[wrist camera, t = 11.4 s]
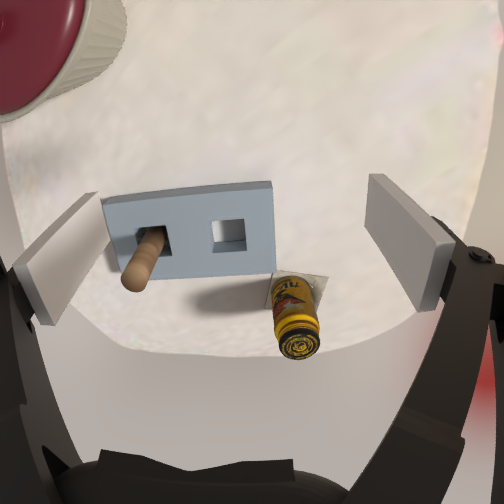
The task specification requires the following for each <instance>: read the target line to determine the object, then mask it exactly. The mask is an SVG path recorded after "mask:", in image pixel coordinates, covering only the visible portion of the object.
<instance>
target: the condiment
mask: <svg viewBox="0 0 504 504" xmlns="http://www.w3.org/2000/svg"><path fill="white" fill-rule="evenodd" d="M327 280H328V277H322V276H314V275H307V274H301V273H293V272H287V271H278V270H277V273H273V276H272V280H271V284H270V288H269V292H268V296H267V301H266V305H265V309H273V319H274V332H275V336H276V338H277V340H278V343H279V349H280V351H281V353H282V354H283V355H284V356H285V357H287V358H290V359H294V360H301V359H306V358H308V357H310V356H312V355H313V354H314V353H316V352H317V350H318V348H319V346H320V339H319V329H320V328H319V322H318V318H317V313H316V312H317V308H318V306H319V303H320V300H321V297H322V294H323V291H324V289H325V285H326V283H327ZM310 285H311V286H313V288H312V287H311V286H310Z"/></svg>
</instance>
